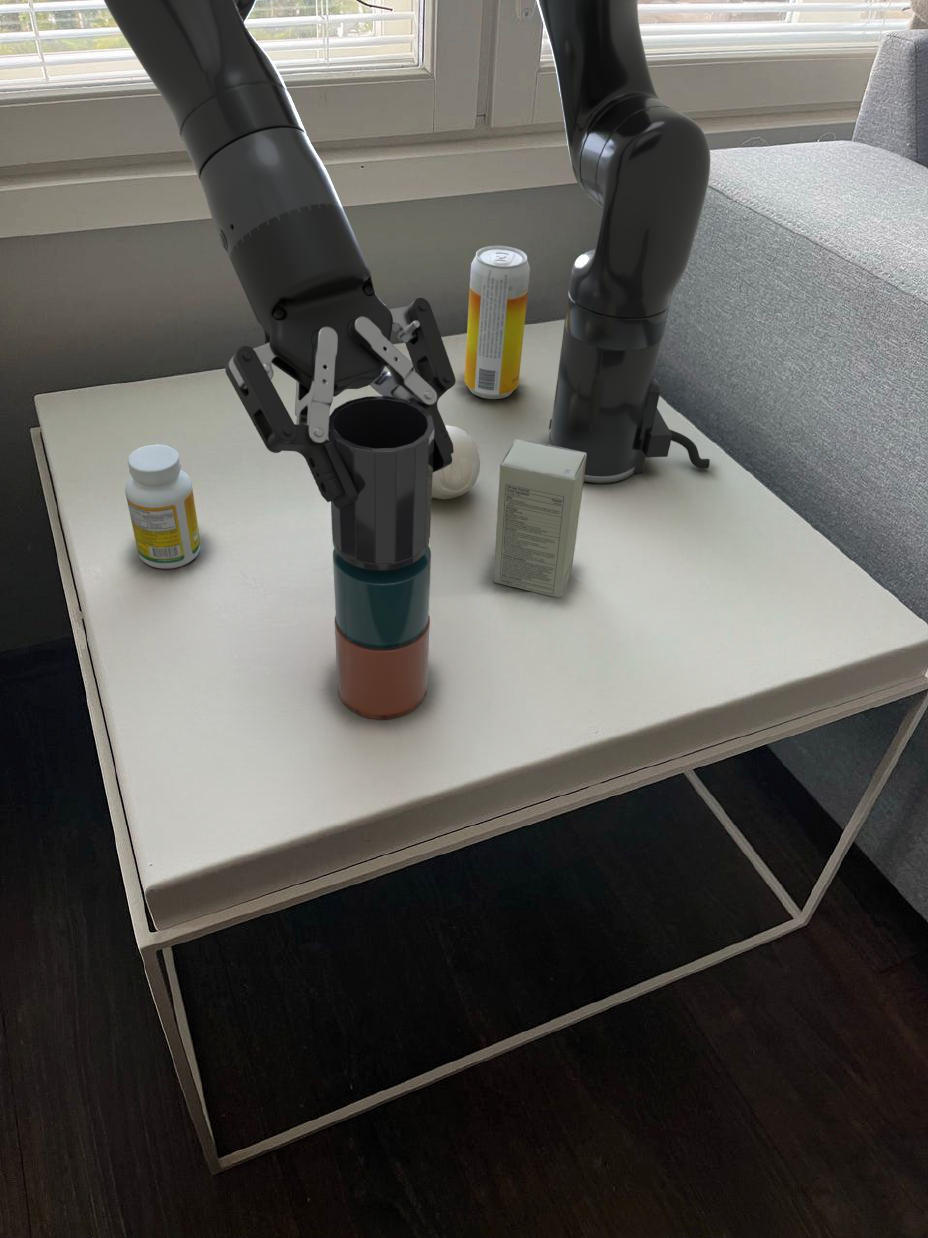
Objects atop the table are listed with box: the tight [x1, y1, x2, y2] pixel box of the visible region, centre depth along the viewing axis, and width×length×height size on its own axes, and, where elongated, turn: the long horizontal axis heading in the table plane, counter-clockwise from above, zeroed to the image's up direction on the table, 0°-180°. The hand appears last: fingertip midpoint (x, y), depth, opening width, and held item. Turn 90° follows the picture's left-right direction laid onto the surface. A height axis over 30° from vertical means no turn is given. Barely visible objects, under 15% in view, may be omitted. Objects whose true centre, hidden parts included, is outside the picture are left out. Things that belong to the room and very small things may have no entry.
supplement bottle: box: [124, 444, 202, 570], centre depth 82 cm, size 5×5×10 cm
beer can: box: [463, 245, 531, 400], centre depth 104 cm, size 6×6×15 cm
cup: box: [327, 395, 435, 571], centre depth 62 cm, size 6×6×9 cm
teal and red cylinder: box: [332, 545, 432, 720], centre depth 70 cm, size 7×7×13 cm
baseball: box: [432, 424, 481, 500], centre depth 91 cm, size 7×7×7 cm
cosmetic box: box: [492, 438, 587, 598], centre depth 81 cm, size 6×4×12 cm
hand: (396, 484), depth 60 cm, fingers closed on cup, 6 cm apart
